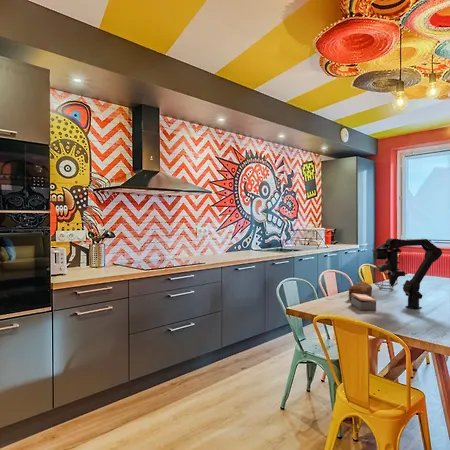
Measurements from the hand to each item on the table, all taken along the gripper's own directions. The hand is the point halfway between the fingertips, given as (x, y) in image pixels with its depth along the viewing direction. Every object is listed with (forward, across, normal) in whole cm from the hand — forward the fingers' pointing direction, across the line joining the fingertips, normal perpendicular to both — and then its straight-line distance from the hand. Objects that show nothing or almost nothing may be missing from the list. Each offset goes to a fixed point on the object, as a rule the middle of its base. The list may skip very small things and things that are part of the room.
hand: (392, 285), depth 205 cm
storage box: (+13, 0, -17) cm, 21 cm away
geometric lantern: (+13, -50, +20) cm, 55 cm away
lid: (+7, 0, -17) cm, 19 cm away
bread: (+13, -23, -9) cm, 28 cm away
